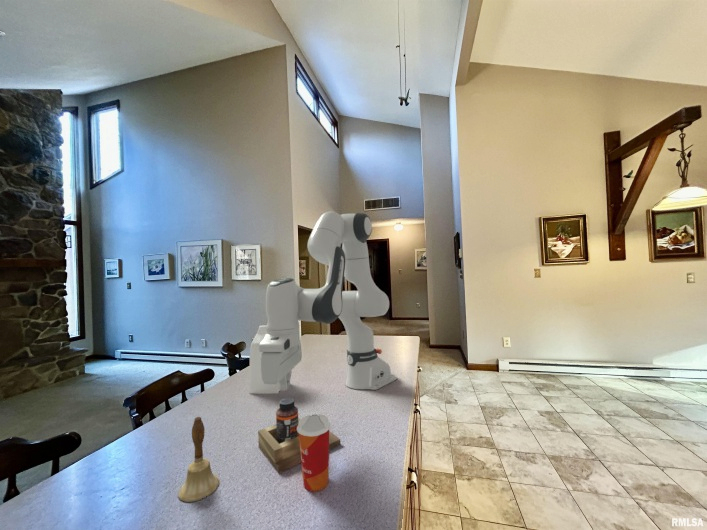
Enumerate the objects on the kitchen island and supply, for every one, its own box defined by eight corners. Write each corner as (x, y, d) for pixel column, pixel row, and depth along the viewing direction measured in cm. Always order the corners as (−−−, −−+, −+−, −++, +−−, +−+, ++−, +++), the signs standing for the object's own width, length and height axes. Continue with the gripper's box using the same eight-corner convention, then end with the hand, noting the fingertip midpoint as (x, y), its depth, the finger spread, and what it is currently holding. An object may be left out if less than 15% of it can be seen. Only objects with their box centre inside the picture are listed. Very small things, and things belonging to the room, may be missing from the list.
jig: (315, 424, 94) (315, 410, 94) (340, 444, 83) (339, 428, 83) (258, 447, 84) (258, 430, 84) (278, 473, 72) (277, 454, 72)
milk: (287, 382, 132) (284, 322, 132) (277, 393, 120) (275, 328, 120) (260, 382, 133) (258, 323, 133) (249, 393, 121) (246, 328, 122)
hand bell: (225, 474, 73) (222, 408, 73) (209, 501, 64) (207, 426, 65) (190, 477, 72) (187, 410, 73) (170, 503, 64) (167, 428, 64)
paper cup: (300, 473, 72) (298, 414, 72) (332, 469, 73) (330, 411, 73) (297, 497, 64) (294, 431, 64) (333, 493, 65) (330, 428, 65)
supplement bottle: (293, 450, 79) (292, 406, 79) (272, 448, 80) (271, 405, 80) (302, 437, 85) (300, 397, 85) (282, 435, 86) (281, 395, 86)
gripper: (286, 330, 93) (288, 375, 93) (255, 347, 73) (257, 404, 73) (306, 330, 92) (307, 375, 92) (280, 347, 72) (282, 405, 72)
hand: (285, 388), depth 82 cm, fingers closed
